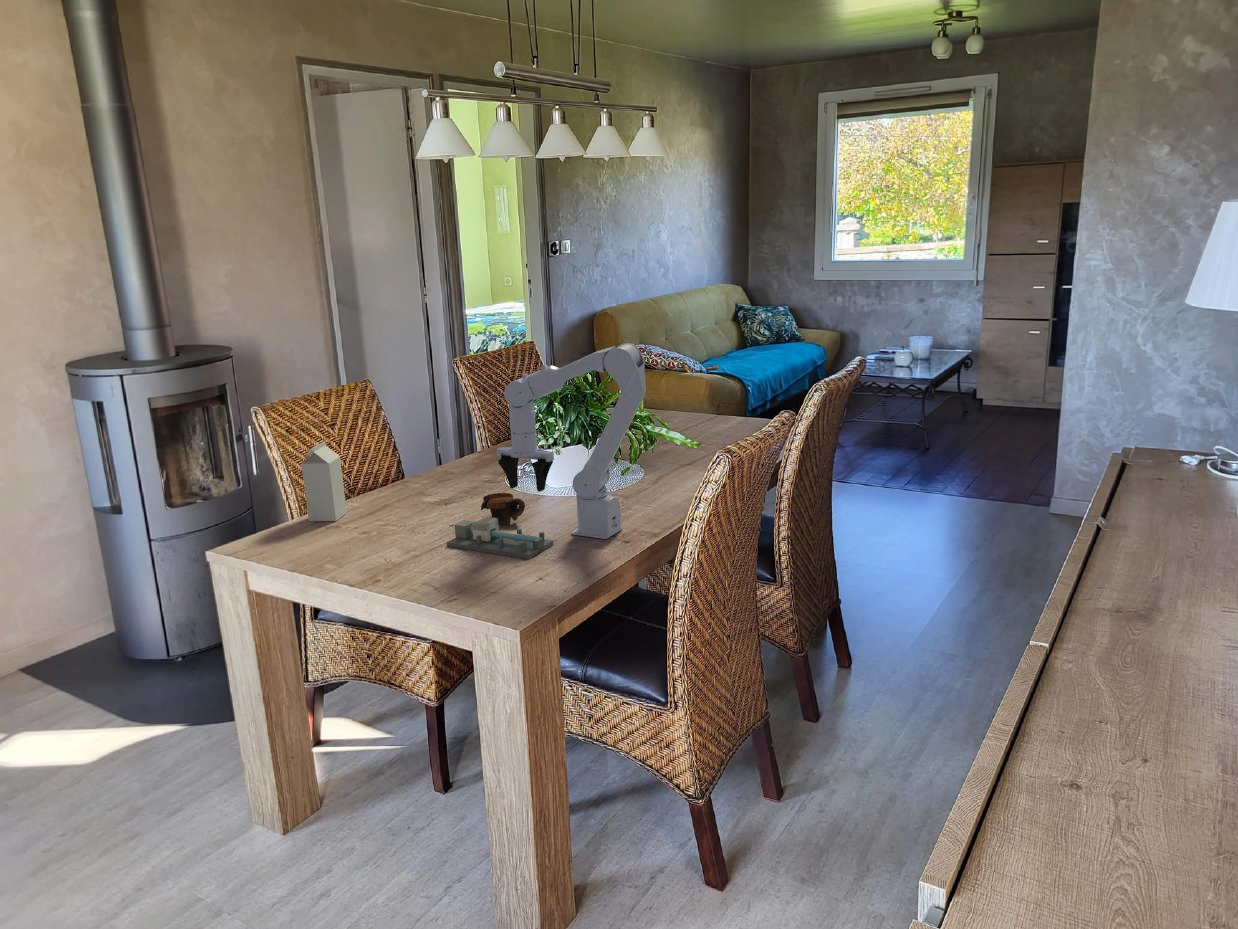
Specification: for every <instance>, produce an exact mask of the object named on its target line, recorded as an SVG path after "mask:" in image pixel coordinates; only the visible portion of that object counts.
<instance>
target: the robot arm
mask: <svg viewBox="0 0 1238 929" xmlns="http://www.w3.org/2000/svg"><path fill="white" fill-rule="evenodd" d="M645 365H646V361H645V359H644V356H643V355H642V352H641V350H640V349H639V347H638V346H636V345H635V344H634V343H631V342H630V343H629V342H625V343H622V344H619V345H618V346H617V347H616V346H610V347H607V348H603V349H600V350H597V351H595V352H593V353H590V354H588V355H586V356H584V357H582V358H580V359H578V360H577V359H576V360H575V361H572V362H571V363H568V364H567V365H564V366H562V367H557V366H555V365H551V364H550V365H549V366H548V364H545V365H541V366H540V367H539V369H540V370H537V371H534V372H532V373H530V374H528V373H525V374H522V377H520V378H518V379H516V380H513V381H511V382H509V383H508V384H507V385H506V387H505V388H504V392H503V393H504V395H503V396H504V399H505V401H506V402H507V404H508V411H509V427H510V437H511V438H510V439H511V440H510V442H511V447H507V446H506V447H505V446H502V447H501V446H500V447H499V448H497V449H496V456H497V458H500V459H498V461H497V463H498V464H499V466H500V467H501V469H502V470H503V472H504V474H505V477H506V479H507V482H508V484H509V488H510V489H515V488H517V487H518V486H519V484H518V483H519V482H518V481H519V479H518V478H519V476H518V466H519V465H518V464H519V460H520V459H525V460H535V461H534V462H532V463H531V466H532V468H533V472H534V475H535V483H536V485H535V486H536V491H537V492H539V493H540V492H543V491H545V489H546V485H547V478H548V475H549V472H550V470H551V467H552V465H553V463H554V460H555V454H554V452H555V451H550V450H546V449H545V450H544V449H542V448H538V442H537V440H538V439H537V429H536V428H537V427H536V413H535V403H534V400H538V399H541V398H543V397H545V396H547V395H550V394H552V393H556V392H558V391H559V390H562V389H563V387H564V384H565V382H566V381H568V380H571V379H573V378H574V379H575V378H578V377H579V376H582V375H584V374H588V373H590V372H593V371H596V372H599V373H606V372H607V373H608V374H609V376H610V377H611V378H612V379H613V380H614V381H615V383H616V384H617V386H618V389H619V390H620V393H621V394H620V395H619V398H618V400H617V402H616V404H615V406H614V408H613V410H612V412H611V414H610V416H609V418H608V420H607V422H606V425H605V427H604V429H603V431H602V433H601V435H600V436H599V439H598V441H597V443H596V444H595V447H594V449H593V451H592V453H591V455H590V457H589V458H588V459H587V461H586V462H585V464H584V467H583V468H582V469H581V470H580V471H579V472H578V473H577V474H575V475H574V476H573V479H572V487H573V490H574V492H575V495H576V510H577V511H576V512H577V528H576V529H574V530H572V531H571V532H570V535H573V536H581V537H586V538H587V537H588V538H595V539H601V540H602V539H603V540H607V539H609V538H610V537H612V536H613V535H615V534H617V533H618V532H620V531H622V530H623V526H622V523H621V522H622V521H621V520H622V519H621V503H620V501H619V499H618V498H617V497H615V496H612V495H610V494H609V491H608V489H607V487H606V485H607V484H608V482H609V480H610V470H611V467H612V464H613V460H614V458H615V456H616V454H617V452H618V449H619V448H620V446H621V444H622V442H623V439H624V438H625V436H626V433H627V432H628V429H629V428H630V425H631V423H632V422H633V420H634V418H635V415H636V414H637V412H638V409H639V408H640V405H641V404H642V402H643V400H644V398H645V396H646V393H647V387H646V386H647V385H646V371H645V367H646V366H645Z"/></svg>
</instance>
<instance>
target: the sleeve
mask: <svg viewBox="0 0 1238 929" xmlns="http://www.w3.org/2000/svg"><path fill="white" fill-rule="evenodd" d="M472 521H473V522H472V527H473V538H474V539H475V540H476V536H478V535H481V539H482V541H490V540H491V537H490V530H494V531H499V527H498V526H499V525H498V518H493V517H491V516H482V517H479V518H477V519H475V520H472Z"/></svg>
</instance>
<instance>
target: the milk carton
mask: <svg viewBox="0 0 1238 929" xmlns="http://www.w3.org/2000/svg"><path fill="white" fill-rule="evenodd" d="M306 456H307V458H305V460H304V461H303V462H302V463H301V472H302V479H303V480H302V481H303V488H304V493H305V494H304V495H305V503H306V511H307V515H308V516H307V518H308V522H337V521H338V520H339V519H342V517H343V516H345V515H346V514H347V512H348V511H347V503H346V495H345V487H344V479H343V470H342V462H341V456H340V455H339V454H337V453H336V452H335V451H334V450H332V449H331V448H330V447H328V446H327V445H326V441H325V440H323V441H322V442H321V443H318V444H317V445H315V446H313V447H312V448H310V450H309V451H308V452H306Z"/></svg>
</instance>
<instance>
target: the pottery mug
mask: <svg viewBox="0 0 1238 929" xmlns="http://www.w3.org/2000/svg"><path fill="white" fill-rule="evenodd" d="M482 498H483V501H482V503H481V504H480V505H481V506H480V511H483V510H484V509H486V510H490V514H491V516H490V517H493V518H498V526H500V527H502V526H511V520H513V521H517V520H518V518H519V517H521V516H522V514H524V511H525V508H526V504H525V502H524V500H523V499H522V498H514V495H513V494H512V493H509V492H495V493H491V494H487V495H484V496H483V497H482Z"/></svg>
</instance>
